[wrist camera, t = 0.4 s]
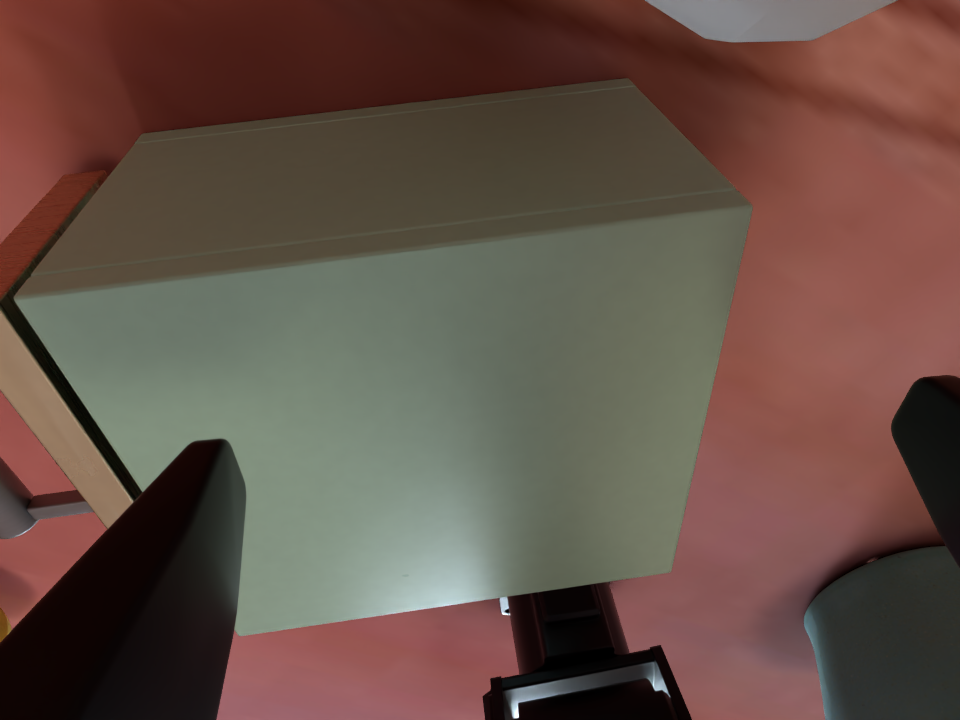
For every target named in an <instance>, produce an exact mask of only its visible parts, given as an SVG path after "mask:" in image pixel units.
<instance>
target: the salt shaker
mask: <svg viewBox="0 0 960 720" xmlns="http://www.w3.org/2000/svg"><path fill="white" fill-rule="evenodd" d="M645 1H646V2H648V3H650V4H651V5H653V6H654V7H656V8H657V9H659V10H661V11H662V12H664V13H665V14H667V15H668V16H670V17H672V18H673V19H675V20H676V21H678V22H679V23H681V24H683V25H684V26H686V27H687V28H689V29H690V30H692V31H694V32H695V33H697V34H698V35H700V36H701V37H703V38H705V39H712V40H719V41H726V42H769V41H810V40H814V39H816V38H818V37H821V36H823V35H825V34H827V33H829V32H831V31H833V30H835V29H838V28H840V27H842V26H844V25H846V24H848V23H850V22H853V21H855V20H857V19H859V18H861V17H863V16H865V15H867V14H870V13H872V12H874V11H876V10H878V9H880V8H882V7H884V6H887V5H889V4H891V3H893V2H895V1H897V0H645Z"/></svg>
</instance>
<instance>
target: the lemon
mask: <svg viewBox="0 0 960 720" xmlns="http://www.w3.org/2000/svg"><path fill="white" fill-rule="evenodd" d="M11 631H12V630H11V625H10V622H9V620H8V618H7V616H6V615H5V613H4V612H3V610H2V609H1V608H0V642H1V641H2V640H3V639H4V638H5V637H6V636H7V635H8V634H9V633H10V632H11Z"/></svg>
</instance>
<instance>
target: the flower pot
mask: <svg viewBox="0 0 960 720" xmlns="http://www.w3.org/2000/svg"><path fill="white" fill-rule="evenodd" d="M804 626H805V629H806V632H807V634H808V635H809V637H810V640H811V642H812V645H813V648H814V652H815V657H816V662H817V667H818V673H819V679H820V684H821V691H822V698H823V705H824V712H825V720H960V568H959V567H958V565H957V563H956V562H955V560H954V559H953V557H952V555H951V554H950V552H949V550H948V548H947V547H946V546H940V547H927V548H920V549H914V550H910V551H905V552H900V553H897V554H894V555H890V556H887V557H884V558H881V559H879V560H876V561H873V562H871V563H868V564H866V565H864V566H861V567H859V568H857V569H855V570H853V571H851V572H850V573H848V574H846V575H844V576H843V577H841V578H839V579H838V580H836V581H834V582H833V583H832V584H830V585H829V586H828V587H827V588H825V589H824V590H823V591H821V592H820V593H819V594H818V595H817V597H816V598H815V599H814V600H813V601H812V602H811V604H810V605H809V607H808V609H807V611H806V613H805V616H804Z"/></svg>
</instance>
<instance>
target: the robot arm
mask: <svg viewBox="0 0 960 720" xmlns="http://www.w3.org/2000/svg"><path fill="white" fill-rule="evenodd" d="M891 431H892V436H893V439H894V441H895V443H896V445H897V447H898V449H899V451H900V454H901V456H902V458H903V460H904V462H905V464H906V466H907V468H908V470H909V472H910V474H911V477H912V479H913V481H914V483H915V485H916V487H917V489H918V491H919V493H920V495H921V497H922V499H923V502H924V504H925V506H926V508H927V510H928V512H929V514H930V516H931V518H932V520H933V522H934V524H935V526H936V528H937V530H938V532H939V534H940V536H941V538H942V540H943V541H944V543H945V545H946V547H947V548H948V550H949V552H950V554H951V555H952V557H953V559H954V560H955V562H956V563H957V565H958V567H959V568H960V378H958V377H956V376H951V375H942V376H931V377H923V378H920V379H918V380H917V381H915V382H914V384H913V385H912V386H911V388H910V390H909V392H908V393H907V395H906V397H905V399H904V400H903V402H902V404H901V406H900V407H899V409H898V411H897V413H896V414H895V416H894V418H893V420H892V425H891ZM245 511H246V486H245V481H244V478H243V475H242V473H241V470H240V467H239V465H238V462H237V460H236V457H235V454H234V452H233V449H232V446H231V444H230V443H229V442H228V441H227V440H226V439H222V438H219V439H208V440H197V441H193V442H191V443H190V444H188V445H187V446H186V447H185V448H184V449H183V450H182V451H181V452H180V453H179V455H178V456H177V457H176V458H175V459H174V460H173V461H172V462H171V463H170V464H169V465H168V466H167V467H166V468H165V469H164V470H163V471H162V472H161V473H160V475H159V476H158V477H157V478H156V479H155V480H154V481H153V482H152V483H151V484H150V485H149V486H148V487H147V488H146V489H145V490H144V491H143V492H142V494H141V495H140V496H139V497H138V498H137V499H136V500H135V501H134V502H133V503H132V504H131V505H130V506H129V507H128V508H127V509H126V510H125V511H124V512H123V514H122V515H121V516H120V517H119V518H118V519H117V520H116V521H115V522H114V523H113V524H112V525H111V526H110V527H109V528H108V529H107V530H106V531H105V533H104V534H103V535H102V536H101V537H100V538H99V539H98V540H97V541H96V542H95V543H94V544H93V545H92V546H91V547H90V548H89V549H88V550H87V551H86V553H85V554H84V555H83V556H82V557H81V558H80V559H79V560H78V561H77V562H76V563H75V564H74V565H73V566H72V567H71V568H70V569H69V570H68V572H67V573H66V574H65V575H64V576H63V577H62V578H61V579H60V580H59V581H58V582H57V583H56V584H55V585H54V586H53V587H52V588H51V589H50V590H49V592H48V593H47V594H46V595H45V596H44V597H43V598H42V599H41V600H40V601H39V602H38V603H37V604H36V605H35V606H34V607H33V608H32V609H31V611H30V612H29V613H28V614H27V615H26V616H25V617H24V618H23V619H22V620H21V621H20V622H19V623H18V624H17V625H16V626H15V627H14V628H13V629H12V631H11V632H10V633H9V634H8V635H7V636H6V637H5V638H4V639H3V640H2V641H1V642H0V720H216V719H217V714H218V709H219V704H220V699H221V694H222V689H223V684H224V679H225V674H226V669H227V664H228V659H229V654H230V649H231V644H232V639H233V634H234V628H235V622H236V616H237V608H238V598H239V586H240V573H241V561H242V548H243V536H244V523H245ZM609 585H610V581H609V582H602V583H596V584H589V585H582V586H575V587H569V588H562V589H555V590H548V591H542V592H535V593H528V594H521V595H515V596H508V597H501V598H499V602H500V610H501V613H502V614H504V615H510V619H511V625H512V631H513V637H514V643H515V650H516V656H517V662H518V668H519V674H520V675H515V676H510V677H505V678H501V676H500V677H495V678H491V679H490V681H491V689H490V691H489V692H488V693H486V694H485V695H484V696H483V704H484V713H485V720H692V719H691V716H690V714H689V711H688V709H687V707H686V704H685V702H684V699H683V697H682V695H681V692H680V690H679V687H678V685H677V683H676V680H675V678H674V676H673V673H672V671H671V668H670V666H669V664H668V661H667V659H666V656H665V654H664V652H663V649H662V647H661V645H658V646H653V647H650V649H648V650H643V651H638V652H633V653H629V649H628V646H627V643H626V639H625V636H624V633H623V629H622V626H621V623H620V619H619V616H618V613H617V609H616V606H615V603H614V599H613V596H612V593H611V589H610V586H609Z"/></svg>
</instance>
